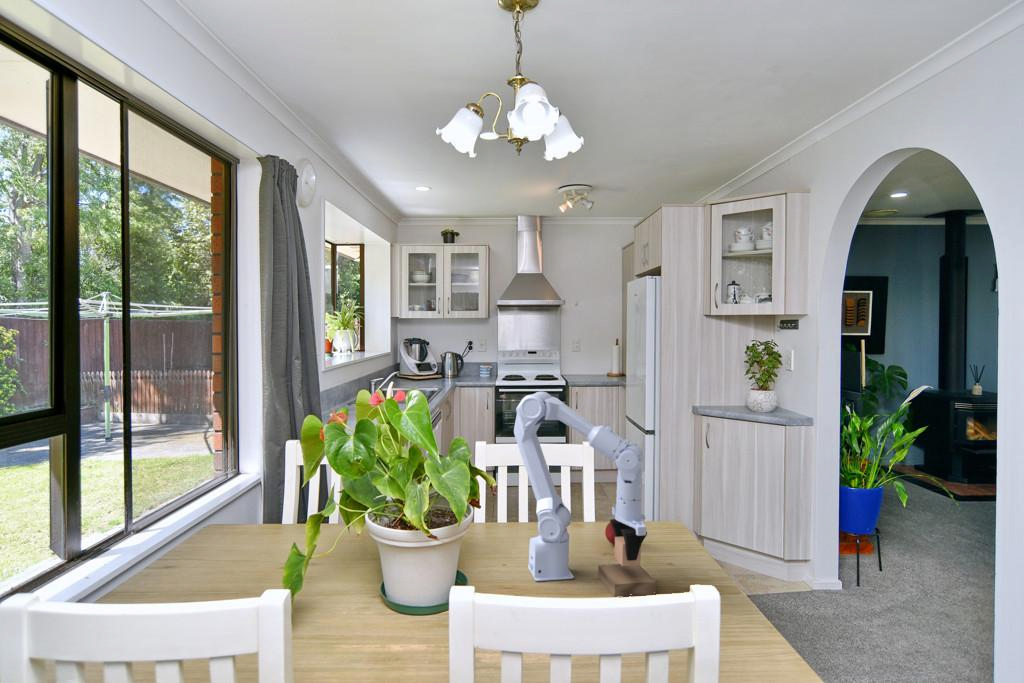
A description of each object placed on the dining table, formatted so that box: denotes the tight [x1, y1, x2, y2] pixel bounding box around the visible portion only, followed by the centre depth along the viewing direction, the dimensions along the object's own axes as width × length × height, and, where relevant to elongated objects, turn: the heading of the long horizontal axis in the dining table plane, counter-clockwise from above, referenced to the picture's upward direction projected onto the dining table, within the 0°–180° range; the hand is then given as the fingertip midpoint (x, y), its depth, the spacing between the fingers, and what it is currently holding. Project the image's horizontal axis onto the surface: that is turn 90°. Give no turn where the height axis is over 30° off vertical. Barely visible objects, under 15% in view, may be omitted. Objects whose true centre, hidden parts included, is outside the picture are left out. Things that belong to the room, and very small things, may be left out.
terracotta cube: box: [613, 537, 642, 566], centre depth 127 cm, size 4×4×5 cm
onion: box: [604, 517, 615, 547], centre depth 151 cm, size 6×6×8 cm
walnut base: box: [597, 563, 657, 598], centre depth 127 cm, size 10×10×3 cm
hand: (627, 555), depth 127 cm, fingers closed on terracotta cube, 4 cm apart
